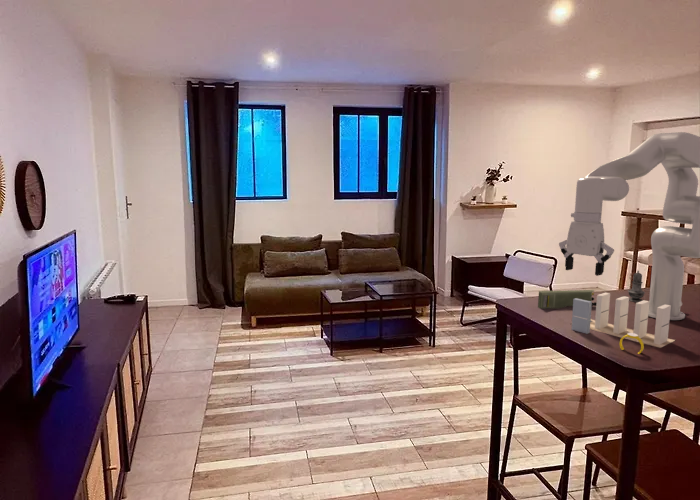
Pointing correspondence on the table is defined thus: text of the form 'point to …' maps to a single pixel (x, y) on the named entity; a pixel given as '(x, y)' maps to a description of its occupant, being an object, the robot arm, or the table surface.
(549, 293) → the handheld radio
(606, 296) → the domino
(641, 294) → the dark grey tall piece
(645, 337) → the board
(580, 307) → the domino
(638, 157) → the robot arm
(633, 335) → the yellow wristwatch
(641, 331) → the domino
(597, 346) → the table surface
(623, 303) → the domino
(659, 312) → the domino
